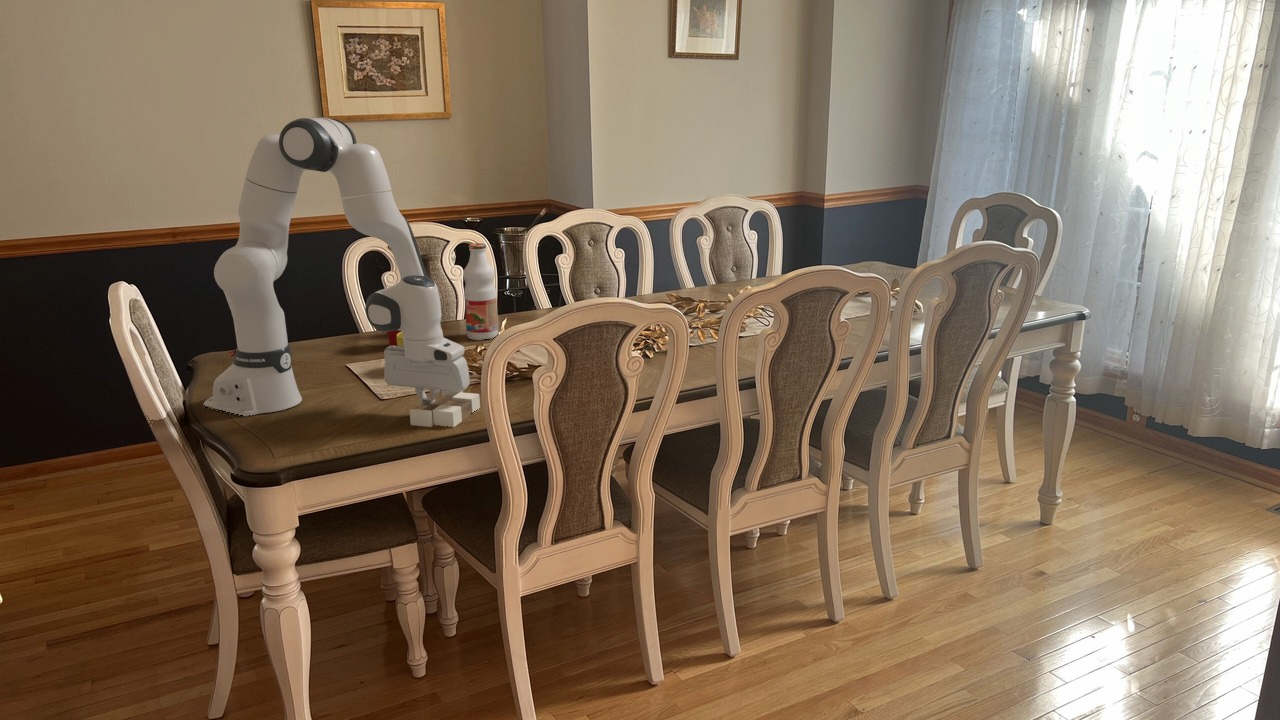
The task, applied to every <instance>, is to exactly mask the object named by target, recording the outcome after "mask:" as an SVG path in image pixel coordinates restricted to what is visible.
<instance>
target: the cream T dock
mask: <svg viewBox="0 0 1280 720" xmlns="http://www.w3.org/2000/svg"><path fill="white" fill-rule="evenodd" d="M444 395H455V396H453V397H452V401H462V402H470V411H471V413H473V412H474V411H476V410H477V409H478V410H480V409H481V401H480V399H481V398H480V394H479V393H471V392H464V390H463V391H461V392H457V391H446V390H441V397H443V396H444ZM479 408H480V409H479ZM478 410H477V411H478ZM477 411H476V412H477ZM474 413H475V412H474ZM474 413H473V414H474ZM409 419H410V421H409V422H410V425H411V426H416V427H417V426H418V427H426V428H427V427H429V428H432V427H433V426H438V425H439V427H440V426H441V427H447V426H448V428H456V426H457V425H459V424H460V423H462V422H463V420H462V413H461V407H460V406H450V405H440V406H438V407H437V408H435V409H434V410H433V419H432V411H430V410H423V409H418V408H411V409H409Z"/></svg>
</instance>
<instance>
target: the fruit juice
mask: <svg viewBox="0 0 1280 720" xmlns="http://www.w3.org/2000/svg"><path fill="white" fill-rule="evenodd" d="M468 249H469V252H470V253H469V254H470V255H469V260H468V263H467V265H466V266H465V268H464V269H463V279H464V282H465V286H464V291H463V293H464V297H463V298H464V309H465V310H464V311H465V325H466V327H465V328H466V336H467V338H468V339H469V340H473V341H482V340H481V339H488V338H492V337H493V338H494V337H495V336H496V335H497V334H498V335H499V319H498V318H499V315H498V302H497V301H498V299H497V289H496V286H495V282H494V281H495V278H496V272H495V269H494V267H493V266H492V265H491V264H490V262H489V260H488V258H487V255H486V250H487V245H486V243H483V242H473V243H470V244H468ZM493 338H492V339H491V340H493ZM494 339H495V338H494Z"/></svg>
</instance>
